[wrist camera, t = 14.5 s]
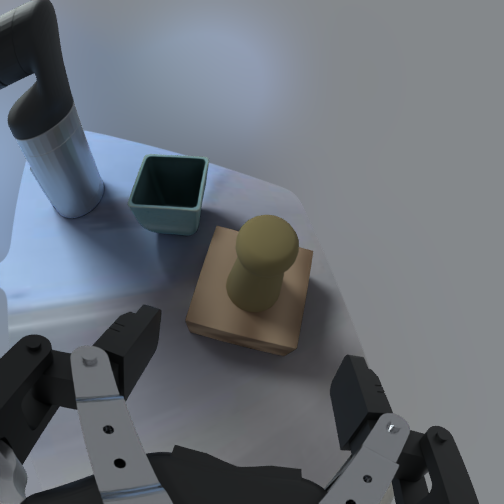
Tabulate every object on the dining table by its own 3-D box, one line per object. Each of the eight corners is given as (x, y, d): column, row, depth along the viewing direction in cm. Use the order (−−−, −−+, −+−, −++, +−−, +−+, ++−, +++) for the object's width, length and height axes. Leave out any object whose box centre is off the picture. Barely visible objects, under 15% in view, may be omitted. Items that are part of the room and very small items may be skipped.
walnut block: (189, 332, 35) (185, 320, 30) (215, 249, 41) (216, 225, 36) (284, 356, 35) (296, 348, 30) (300, 271, 41) (313, 251, 36)
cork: (277, 260, 34) (301, 203, 25) (283, 310, 32) (315, 269, 22) (224, 261, 34) (229, 203, 24) (227, 313, 31) (234, 272, 21)
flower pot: (153, 194, 44) (144, 153, 36) (209, 198, 45) (209, 156, 37) (141, 243, 40) (126, 205, 32) (202, 248, 41) (199, 211, 33)
